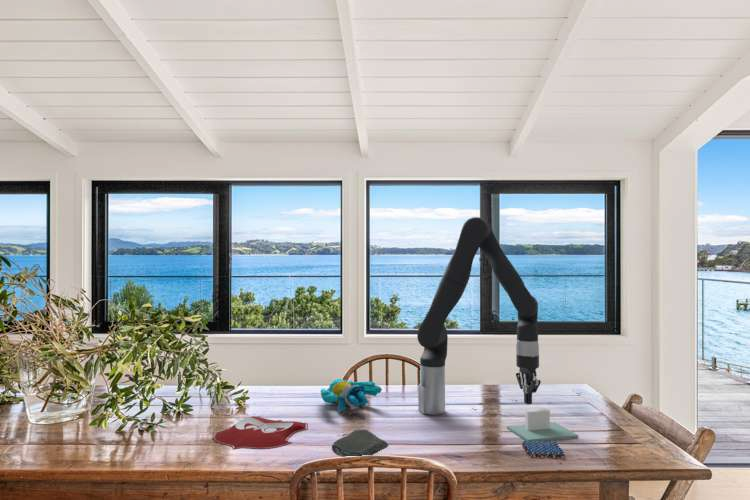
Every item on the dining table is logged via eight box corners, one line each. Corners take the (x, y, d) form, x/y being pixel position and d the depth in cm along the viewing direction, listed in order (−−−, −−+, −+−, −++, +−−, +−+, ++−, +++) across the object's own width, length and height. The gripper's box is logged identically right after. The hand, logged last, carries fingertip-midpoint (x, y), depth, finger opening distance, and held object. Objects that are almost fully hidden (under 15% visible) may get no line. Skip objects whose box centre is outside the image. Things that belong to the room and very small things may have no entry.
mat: (527, 442, 158) (527, 439, 158) (507, 428, 171) (507, 426, 171) (578, 437, 162) (578, 435, 162) (554, 424, 175) (554, 422, 175)
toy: (387, 417, 186) (356, 410, 207) (390, 383, 189) (359, 380, 210) (332, 414, 176) (305, 407, 197) (336, 378, 179) (309, 375, 200)
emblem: (191, 436, 156) (247, 408, 184) (191, 446, 156) (246, 417, 184) (274, 448, 146) (319, 417, 174) (274, 459, 146) (319, 426, 174)
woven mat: (520, 446, 156) (520, 439, 157) (556, 447, 156) (556, 440, 156) (527, 459, 146) (527, 452, 146) (565, 460, 145) (565, 453, 145)
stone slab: (387, 462, 143) (387, 455, 143) (327, 461, 144) (328, 454, 144) (389, 433, 167) (389, 427, 167) (337, 432, 168) (337, 426, 168)
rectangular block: (549, 428, 168) (527, 430, 167) (546, 427, 170) (525, 428, 168) (549, 410, 168) (527, 412, 167) (547, 409, 170) (525, 410, 168)
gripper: (508, 350, 181) (508, 399, 181) (527, 357, 168) (528, 410, 168) (527, 349, 183) (527, 397, 183) (548, 356, 170) (548, 408, 170)
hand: (528, 403), depth 175 cm, fingers closed
